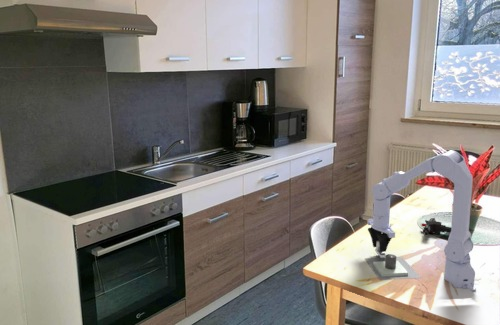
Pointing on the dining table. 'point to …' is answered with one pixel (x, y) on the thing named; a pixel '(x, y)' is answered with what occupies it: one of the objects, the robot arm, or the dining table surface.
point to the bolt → (379, 250)
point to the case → (408, 268)
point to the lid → (390, 267)
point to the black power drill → (434, 227)
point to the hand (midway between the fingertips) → (379, 249)
